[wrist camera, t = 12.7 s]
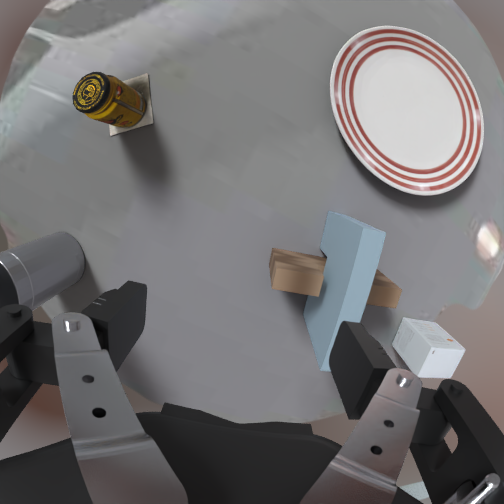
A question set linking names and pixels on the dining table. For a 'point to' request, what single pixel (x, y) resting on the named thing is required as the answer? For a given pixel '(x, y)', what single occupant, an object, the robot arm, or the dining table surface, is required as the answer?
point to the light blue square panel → (342, 280)
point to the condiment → (114, 101)
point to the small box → (427, 348)
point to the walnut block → (321, 277)
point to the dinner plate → (407, 110)
